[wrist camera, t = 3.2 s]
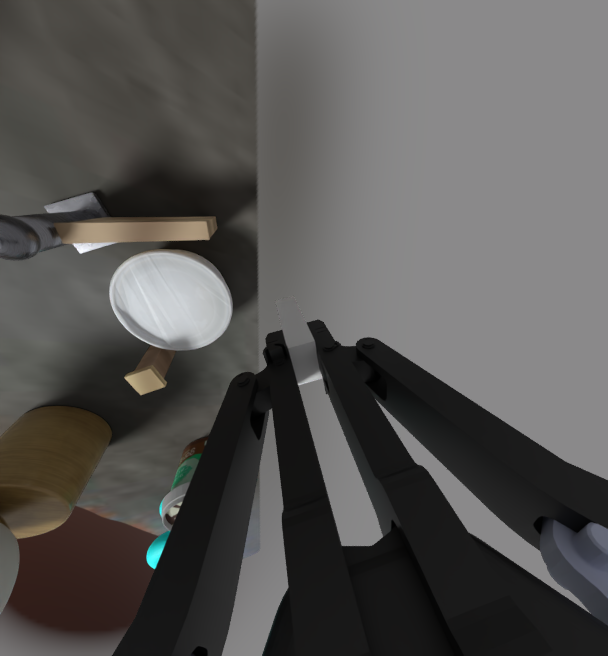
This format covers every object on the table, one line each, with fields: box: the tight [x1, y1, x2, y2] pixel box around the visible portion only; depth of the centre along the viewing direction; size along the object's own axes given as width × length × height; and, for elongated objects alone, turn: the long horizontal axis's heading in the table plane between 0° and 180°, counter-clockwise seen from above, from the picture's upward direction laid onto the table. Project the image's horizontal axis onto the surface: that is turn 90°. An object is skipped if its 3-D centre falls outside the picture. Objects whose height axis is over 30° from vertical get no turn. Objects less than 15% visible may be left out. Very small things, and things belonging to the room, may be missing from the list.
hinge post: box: [0, 192, 117, 260], centre depth 18 cm, size 4×4×11 cm
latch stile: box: [124, 345, 176, 395], centre depth 27 cm, size 3×3×9 cm
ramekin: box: [109, 249, 233, 351], centre depth 26 cm, size 11×11×5 cm
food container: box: [161, 437, 208, 531], centre depth 38 cm, size 12×6×10 cm, turn 146°
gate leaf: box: [53, 217, 217, 244], centre depth 21 cm, size 10×1×7 cm, turn 90°
